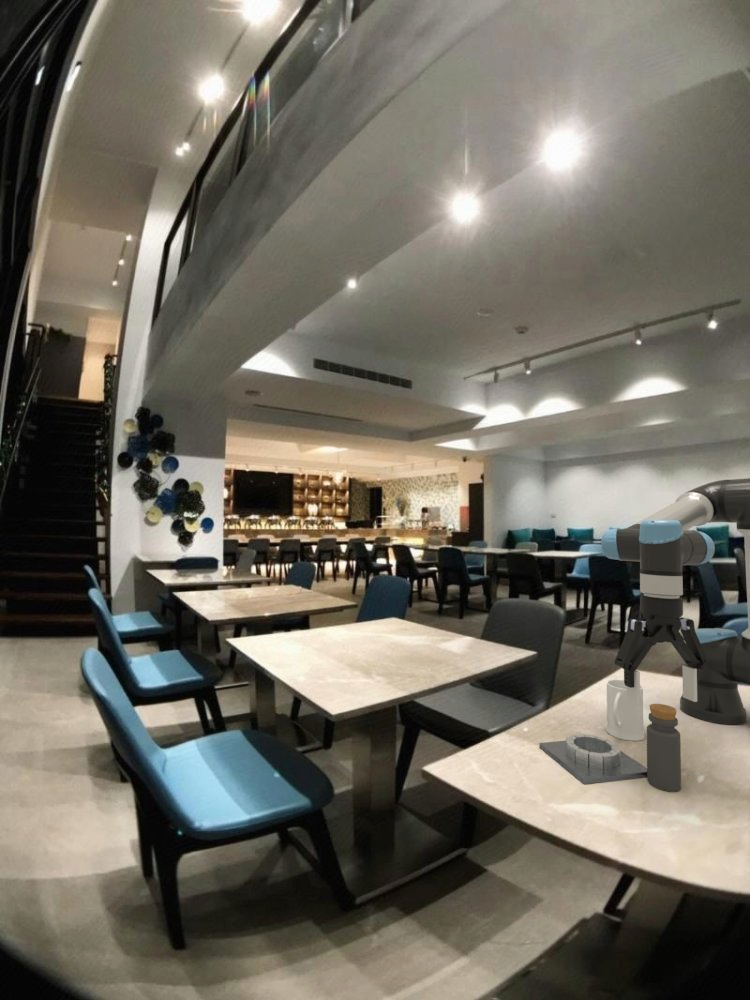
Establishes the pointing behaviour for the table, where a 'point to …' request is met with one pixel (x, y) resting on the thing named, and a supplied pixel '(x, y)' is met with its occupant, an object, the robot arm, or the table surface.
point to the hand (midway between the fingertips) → (662, 701)
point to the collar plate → (594, 772)
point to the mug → (623, 713)
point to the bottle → (663, 749)
